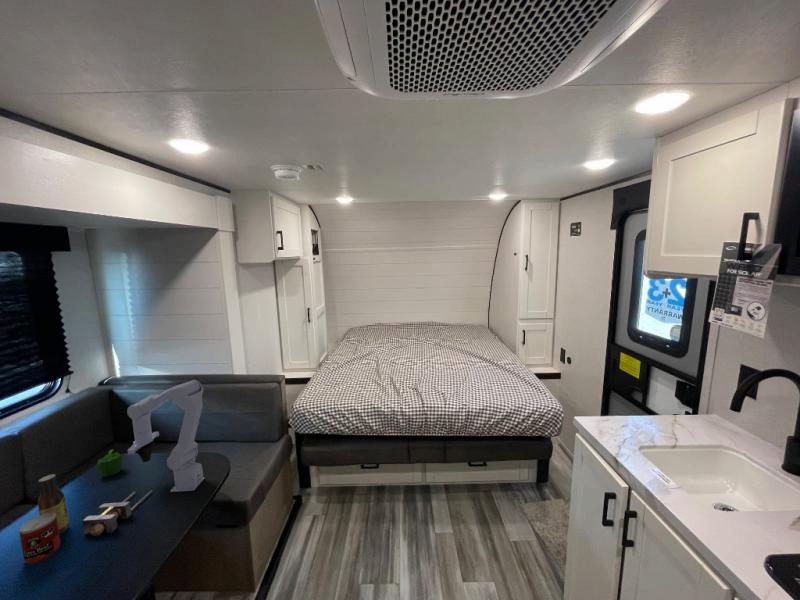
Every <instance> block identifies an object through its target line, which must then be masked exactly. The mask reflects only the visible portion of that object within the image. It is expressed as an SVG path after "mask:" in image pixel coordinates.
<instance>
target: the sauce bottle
mask: <svg viewBox="0 0 800 600" xmlns="http://www.w3.org/2000/svg"><path fill="white" fill-rule="evenodd" d="M37 483H38V485H39V488H40V496H39V497H38V499H37V505H38V514H39V515H38V516H40V515H42V514H46V513H51V512H52V513H55V514H56V517H57V523H58V530H59V535H61V534H63V533H64V532H66V531H67V529H69V527H70V523H69V522H70V520H69V514H68V507H67V502H66V498H65V493H64V492H63V491H62V490H61V489H60V487H59V486H58V483H57V476H56V474H53V473H52V474H48V475H46V476H44V477H42V478H39V479H38V482H37Z"/></svg>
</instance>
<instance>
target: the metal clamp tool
mask: <svg viewBox="0 0 800 600" xmlns="http://www.w3.org/2000/svg"><path fill="white" fill-rule="evenodd" d="M153 493H154V490H153V489H152V490H150V491H148V492H147V493H146V495H144V496H143V497H142V498H141V499H139V501H138V502H136V503H135V504H134V505H133V506H132V507H131V502H130V499H131V498H133V497H134V496H135V495H137V491H133V492H132V493H130V494H129V496H127V497H126V498H125V499H124V500H123V501H121V502H108V503H103V504H101V505H99V507H98V515H88V516H86V517H85V518H84V519H83V520H82V526H83V527H82V528H83V532H84V535H92V534H91V533H90V530H91V528H92V527H93V526H95V525H96V523H98V522H105V524H106V529H105V530H106V533H108V534H109V532H110V533H113V532H115V531H116V530H117V529H118V528H117V527H118V522H117V520H118V518H117V519H116V514H111V515H108V514H109V513H110V512H111V511H112V510H113V509H120V512H121V516H120V519H121V520H124V519H125V520H127V519H128V518H130V517H131V516H132V514H133V512H134V511H135V510H136V509H137V508H138V507H139V506H140V505H141V504H142V503H143V502H145V500H146V499H148V498H149V497H150V496H151V495H152V494H153ZM129 516H130V517H129ZM116 528H117V529H116ZM115 529H116V530H115ZM114 530H115V531H114Z"/></svg>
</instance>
